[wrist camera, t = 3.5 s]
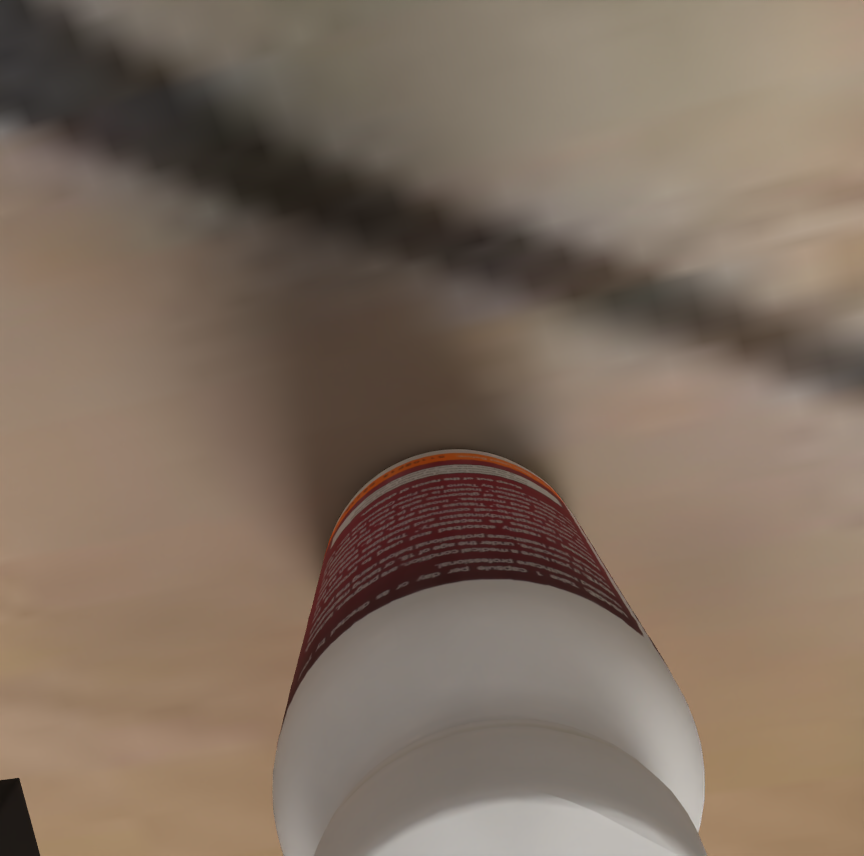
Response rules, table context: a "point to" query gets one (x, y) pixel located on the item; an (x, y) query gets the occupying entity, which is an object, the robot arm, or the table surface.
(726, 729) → the table surface
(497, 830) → the pill bottle
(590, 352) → the table surface
